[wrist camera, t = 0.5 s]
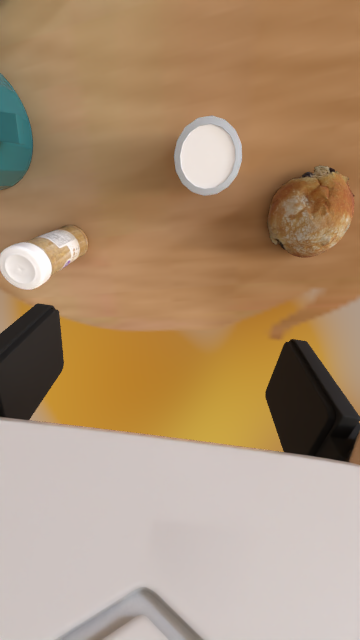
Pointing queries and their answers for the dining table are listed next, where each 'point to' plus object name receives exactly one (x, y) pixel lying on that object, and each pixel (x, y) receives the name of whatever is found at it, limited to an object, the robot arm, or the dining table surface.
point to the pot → (13, 137)
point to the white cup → (208, 155)
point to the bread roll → (311, 212)
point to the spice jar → (42, 256)
